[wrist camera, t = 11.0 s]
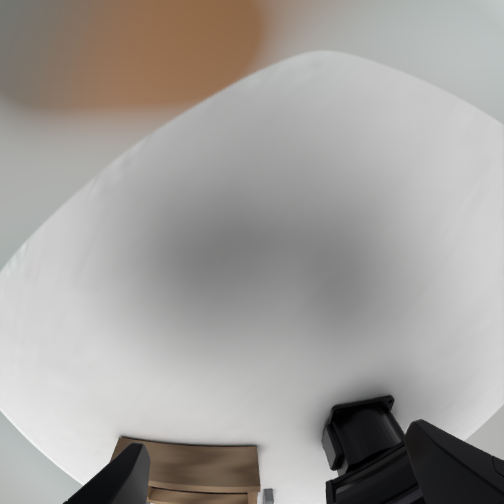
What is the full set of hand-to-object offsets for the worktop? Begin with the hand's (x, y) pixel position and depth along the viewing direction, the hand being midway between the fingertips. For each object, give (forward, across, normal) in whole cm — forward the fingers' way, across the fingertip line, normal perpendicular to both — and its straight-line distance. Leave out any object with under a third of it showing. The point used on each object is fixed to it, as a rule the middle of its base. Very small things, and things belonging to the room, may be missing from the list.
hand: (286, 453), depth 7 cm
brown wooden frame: (+13, +7, +22) cm, 26 cm away
